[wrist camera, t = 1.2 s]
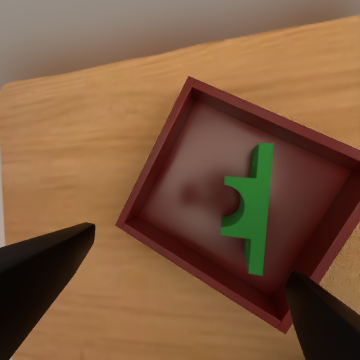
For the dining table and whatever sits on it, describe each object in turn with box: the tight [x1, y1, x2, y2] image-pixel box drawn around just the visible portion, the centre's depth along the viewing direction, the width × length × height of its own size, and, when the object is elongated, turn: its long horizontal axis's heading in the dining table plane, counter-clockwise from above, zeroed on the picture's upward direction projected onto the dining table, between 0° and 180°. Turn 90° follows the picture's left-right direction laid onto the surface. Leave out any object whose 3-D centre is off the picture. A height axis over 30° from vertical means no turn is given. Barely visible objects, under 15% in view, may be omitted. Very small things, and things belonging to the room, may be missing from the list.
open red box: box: [116, 76, 360, 334], centre depth 20 cm, size 19×17×4 cm
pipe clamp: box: [220, 143, 274, 276], centre depth 19 cm, size 11×4×5 cm, turn 176°
